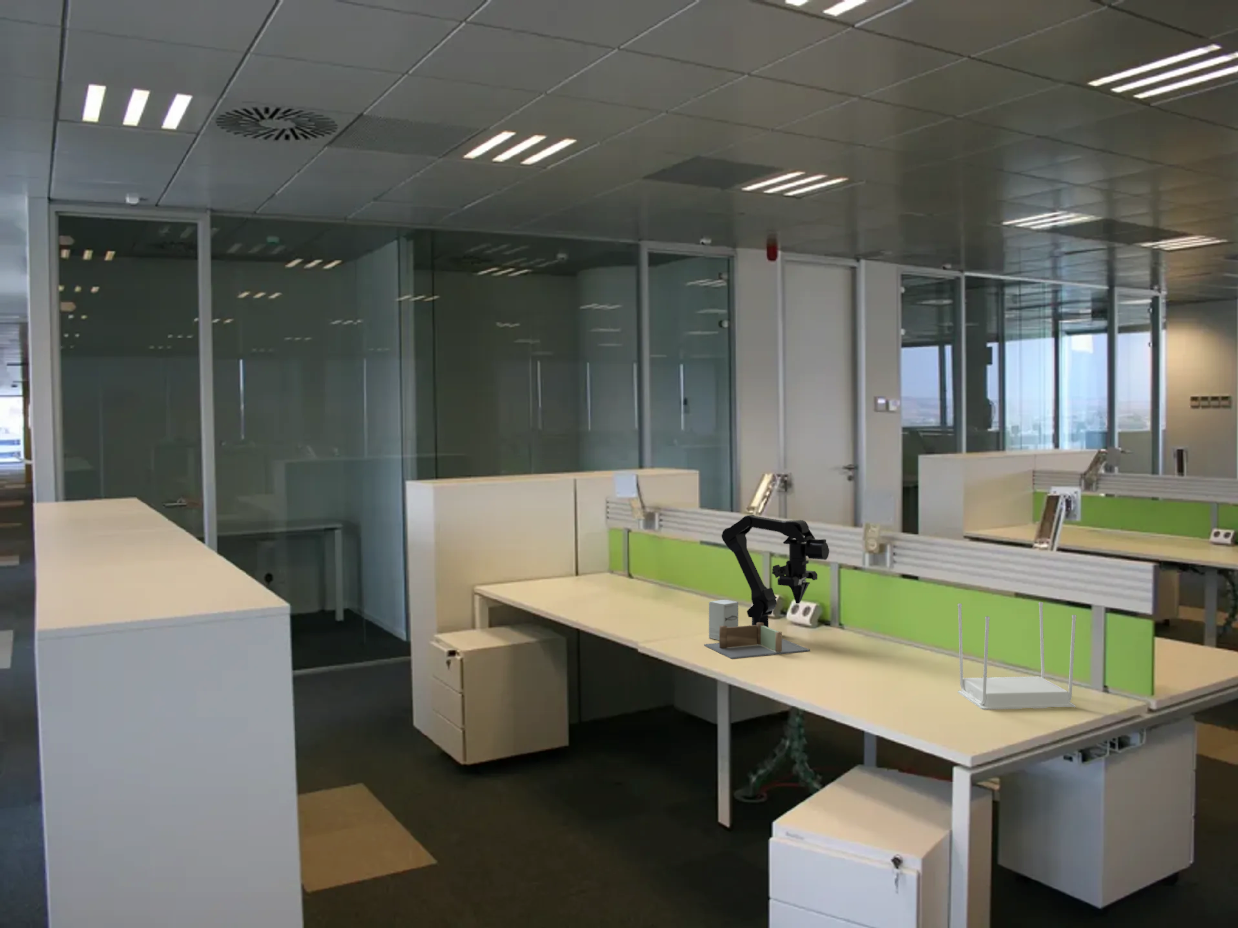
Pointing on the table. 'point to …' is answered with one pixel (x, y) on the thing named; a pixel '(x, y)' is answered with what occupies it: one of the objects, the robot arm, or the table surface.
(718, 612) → the supplement box
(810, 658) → the table surface
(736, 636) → the fixed fence section
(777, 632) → the hinged fence panel
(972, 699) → the router
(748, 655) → the card
